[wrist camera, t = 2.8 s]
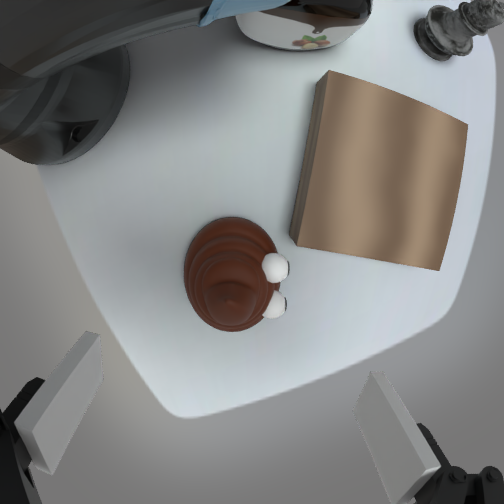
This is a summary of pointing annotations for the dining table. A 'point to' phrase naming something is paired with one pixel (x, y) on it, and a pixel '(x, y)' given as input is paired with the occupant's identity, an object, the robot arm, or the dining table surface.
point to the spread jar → (306, 23)
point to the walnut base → (378, 175)
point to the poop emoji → (234, 275)
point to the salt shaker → (456, 27)
